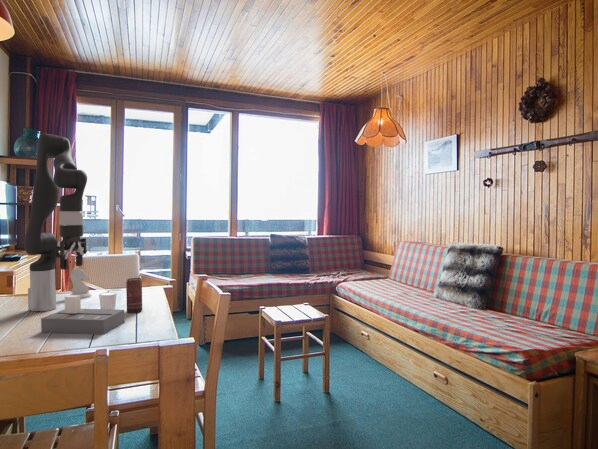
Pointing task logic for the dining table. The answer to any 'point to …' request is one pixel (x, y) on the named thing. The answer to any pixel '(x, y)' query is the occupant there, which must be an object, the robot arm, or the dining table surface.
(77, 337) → the dining table surface
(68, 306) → the fader knob
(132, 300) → the can
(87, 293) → the chess piece
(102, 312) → the slider control panel
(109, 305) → the white cylinder
